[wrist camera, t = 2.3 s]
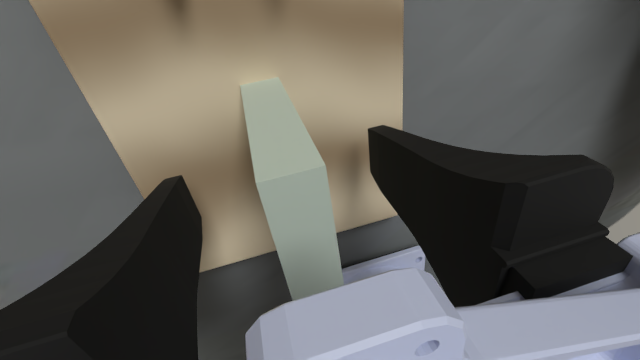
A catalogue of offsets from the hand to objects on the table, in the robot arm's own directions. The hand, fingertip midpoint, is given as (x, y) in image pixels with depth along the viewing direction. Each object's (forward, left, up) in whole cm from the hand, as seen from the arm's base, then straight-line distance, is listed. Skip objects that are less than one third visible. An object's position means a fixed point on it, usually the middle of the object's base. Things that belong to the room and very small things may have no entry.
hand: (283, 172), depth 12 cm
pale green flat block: (0, 0, -2) cm, 2 cm away
